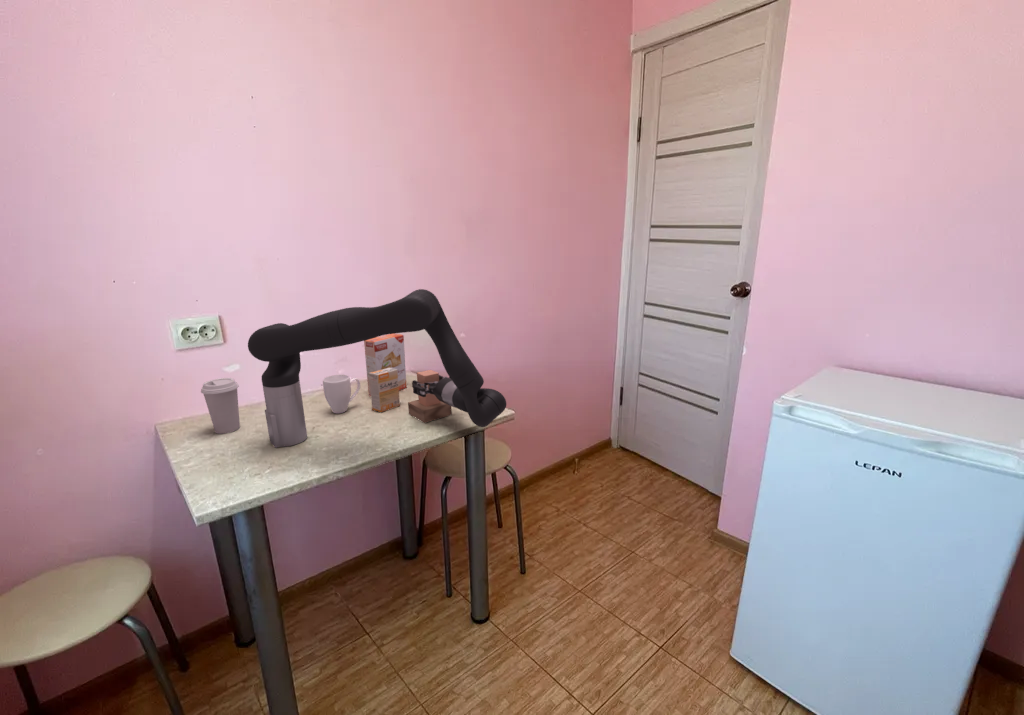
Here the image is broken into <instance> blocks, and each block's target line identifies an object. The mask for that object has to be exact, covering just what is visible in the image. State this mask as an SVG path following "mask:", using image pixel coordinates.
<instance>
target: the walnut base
mask: <svg viewBox="0 0 1024 715" xmlns="http://www.w3.org/2000/svg"><path fill="white" fill-rule="evenodd" d="M407 406H408V408H407V409H408V415H410V416H412V417H413V416H414V417H413V418H415V417H416V418H415V419H417V420H418V419H419V420H418V421H420V422H422V423H424V424H426V423H428V422H429V423H430V422H432V420H433V421H436V420H440V419H442V418H447V417H449V416H452V413H453V412H452V406H450V405H448V404H445V403H443V402H441V401H440V403H438V404H435V405H431V406H427V407H426V406H424V405H422V404H421V403H419V399H416V400H411V401H408V402H407ZM425 422H426V423H425Z"/></svg>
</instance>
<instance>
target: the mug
mask: <svg viewBox="0 0 1024 715" xmlns="http://www.w3.org/2000/svg"><path fill="white" fill-rule="evenodd" d="M354 381H356V385H357V386H356V389H355V391H354V392H353V393H352V383H353V382H354ZM322 387H323V395H324V398H325V400H326V402H327V404H328V406H329V407H330V409H331V411H332V413H334V414H343V413H346V412H347V410H348V408H349V403H351V402H352V400H353V399H354V398H355V397H356V395H358V393H359V391H360V389H361V381H360V380H359V378H356V377H353V378H350V376H349V375H347V374H334V375H329V376H326V377H324V378H323V379H322ZM351 394H352V395H351ZM345 411H346V412H345Z"/></svg>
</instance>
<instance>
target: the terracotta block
mask: <svg viewBox="0 0 1024 715" xmlns="http://www.w3.org/2000/svg"><path fill="white" fill-rule="evenodd" d="M439 375H440V374H439V372H437V371H435V370H432V369H428V370H423V371H420V372H419V371H418V372H416V379H417V380H416V381H418V382H420V383H425V382H434V381H439ZM421 387H424V386H421ZM428 389H429V385H428ZM417 396H418V397H417V398H418V400H419V403H421V404H422V405H424V406H426V407H427V406H431V405H435V404H438V403H440V401H439V400H438V399H437V398H436V396H435V395H433V394H426V397H422V396H419V395H417Z"/></svg>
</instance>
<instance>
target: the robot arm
mask: <svg viewBox="0 0 1024 715" xmlns="http://www.w3.org/2000/svg"><path fill="white" fill-rule="evenodd" d="M423 330H425V332H426V333H427V334H428V335H429V337H430V339H431V340H432V342H433V344H434V345H435V348H436V350H437V353H438V355H439V359H440V360H441V363H442V365H443V368H444V370H445V372H446V374H447V375H448V376H449V377H448V376H443V375H440V374H439V381H434V382H425V383H420V382H418V381H417V380H416V379H415V380H414V379H413V380H412V381H411V387H412V392H413V394H415V395H417V396H418V395H419V396H422V397H426V394H433V395H435V396H436V398H437V399H438V400H439V401H441V402H443V403H445V404H448V405H450V406H451V408H456V409H458V410H460V411H463V412H464V413H467V415H468V417H469V419H470V421H471V422H472V423H473V424H474V425H475V426H478V427H480V428H485V427H488V426H489V425H490V424H491V423H492V422H493V421H495V420H496V419H497V418H498V417H499V416H500V415H501V414H502V413H503V412H504V411H505V410H506V409H507V399H506V397H505V396H504V395H503V393H501V392H500V391H498V390H496V389H493V388H485V387H484V388H483V385H484V383H485V382H484V381H485V380H484V378H483V376H482V375H481V373H480V372H479V370H478V369H477V367H476V365H475V364H474V363H473V361H472V360H471V358H470V357H469V356H468V354H467V353H466V350H464V348H463V346H462V344H461V342H460V341H459V339H458V337H457V336H456V333H455V332H454V330H453V328H452V326H451V325H450V322H449V320H448V318H447V316H446V314H445V311H444V310H443V307H442V305H441V303H440V301H439V299H438V297H437V296H436V295H435V294H434V293H433V292H431V291H430V290H428V289H421V288H419V289H416V290H413V291H412V292H410V293H408V294H407V295H405V296H404V297H401V298H400V299H397V300H395V301H392V302H388V303H386V304H385V303H384V304H382V305H378V306H373V307H371V306H369V307H368V306H367V307H365V306H354V307H344V308H342V309H341V308H340V309H336V310H332V311H329V312H326V313H325V312H324V313H322V314H319V315H316V316H313V317H311V318H308V319H305V320H303V321H299V322H298V323H294V324H290V325H289V324H287V323H281V322H280V323H279V322H278V323H274V324H270V325H267V326H263V327H259V328H258V329H256V330H255V331H254V332H253V333H251V335H250V336H249V338H248V341H247V349H248V351H249V353H250V355H251V356H253V357H254V358H255V359H257V360H259V361H262V362H265V363H267V362H268V365H267V366H266V369H265V370H264V372H263V373H262V375H261V385H262V389H263V390H262V391H263V395H264V397H263V398H264V402H265V409H264V414H265V420H266V421H265V422H266V426H267V434H268V439H269V442H270V443H271V445H272V446H273V447H274V448H281V447H291V446H295V445H298V444H301V443H302V442H304V441H305V440H306V439H308V430H307V425H306V418H305V417H306V416H305V410H304V404H303V403H304V402H303V396H302V395H303V394H302V389H301V388H302V387H301V382H300V372H301V366H302V365H301V363H302V362H301V353H303V352H310V351H317V350H318V351H319V350H324V349H325V350H326V349H330V348H337V347H343V346H349V345H353V344H357V343H360V342H364V341H365V340H369V339H372V338H375V337H380V336H384V335H388V334H401V333H413V332H414V333H415V332H420V331H423ZM428 385H429V389H428ZM421 386H424V387H421Z"/></svg>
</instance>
